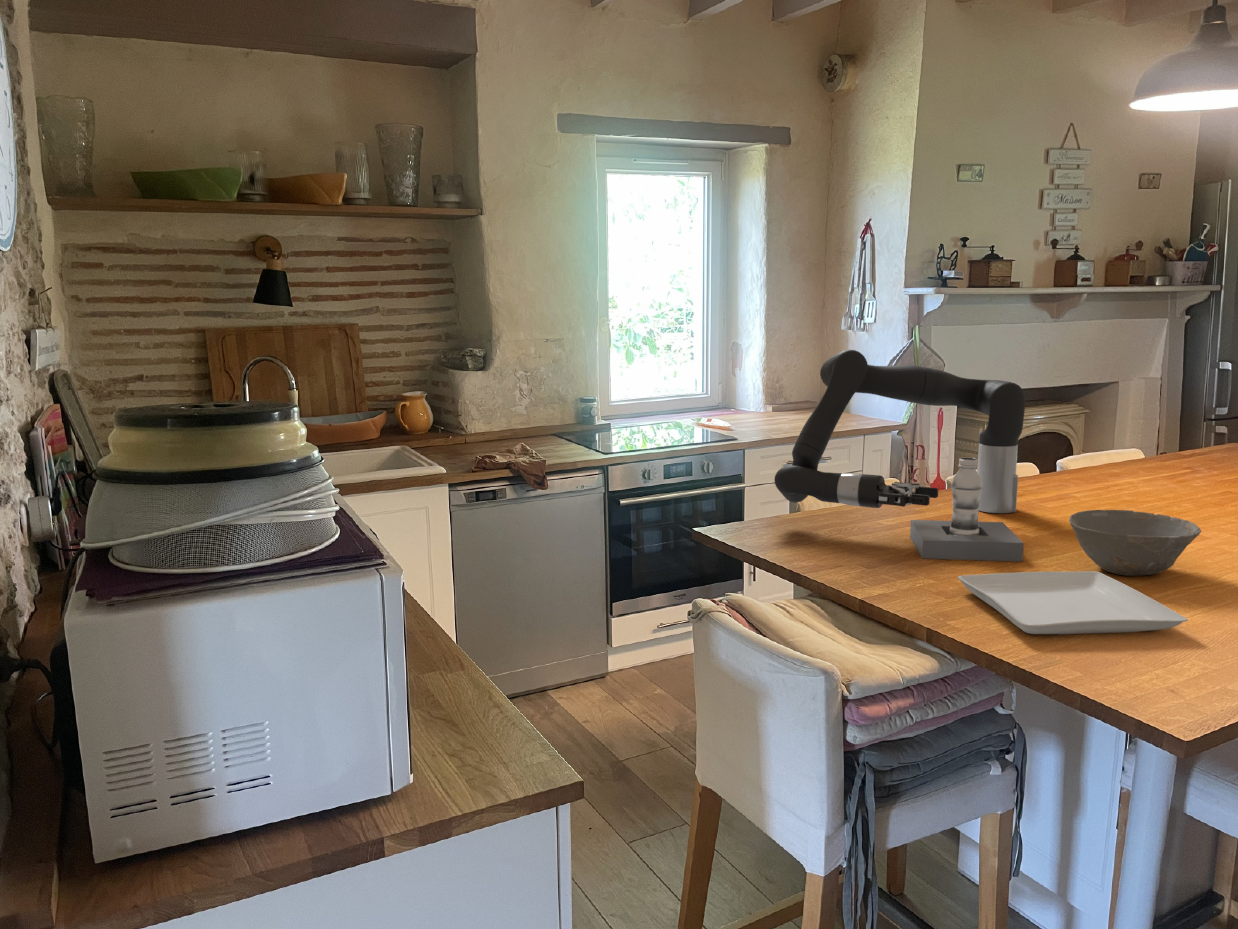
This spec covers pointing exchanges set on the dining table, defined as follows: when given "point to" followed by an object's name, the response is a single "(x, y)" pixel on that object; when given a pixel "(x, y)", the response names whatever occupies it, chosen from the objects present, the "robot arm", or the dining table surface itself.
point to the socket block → (966, 542)
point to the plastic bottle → (966, 498)
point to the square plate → (1070, 602)
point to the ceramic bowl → (1132, 540)
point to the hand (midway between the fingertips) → (933, 496)
